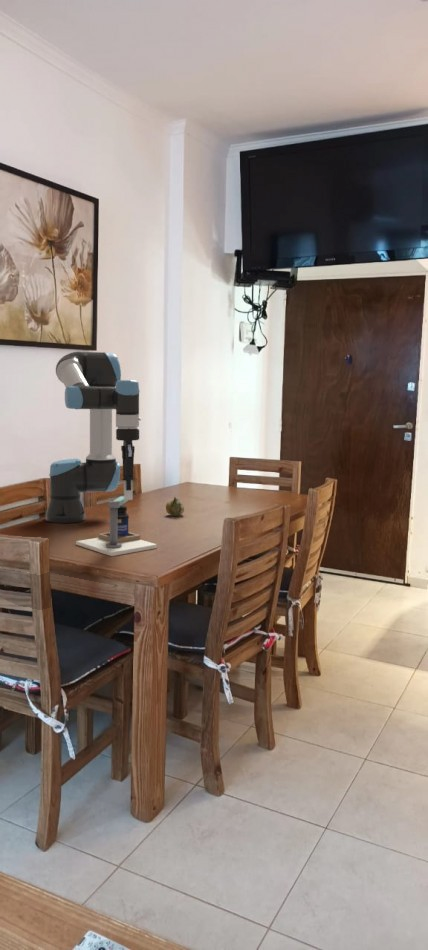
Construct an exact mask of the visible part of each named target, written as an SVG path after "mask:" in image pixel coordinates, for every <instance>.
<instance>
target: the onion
mask: <svg viewBox="0 0 428 950" xmlns="http://www.w3.org/2000/svg"><path fill="white" fill-rule="evenodd" d="M165 511H166V513H167V514H168V515H169V516H172V517H179V516H181V515H182V514H183V513H184V512H185V506H184V504H183V502H182V501H181V500H180V498H178V497H176V496H174V498H173V499H171V500H169V501H168V502H166V505H165Z"/></svg>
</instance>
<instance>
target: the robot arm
mask: <svg viewBox="0 0 428 950" xmlns="http://www.w3.org/2000/svg"><path fill="white" fill-rule="evenodd" d="M55 375H56V376H57V379H58V381H59V382H61V383H62V384H63V385H64V386H65V390H64V403H65V404H64V405H65V407H66V408H67V409H72V410H89V453H88V454H87V456H86V457H85V462H82V461H81V459H80V458H68V459H61V460H57V461H54V462H52V463H51V464H50V466H49V475H48V476H49V488H50V489H49V502H48V505H47V510H46V511H45V521H46V522H50V523H55V524H57V523H58V524H67V523H68V524H70V523H80V522H83V521H85V520H86V511H85V509H84V505H83V503H82V501H81V500H82V498H81V493H100V492H101V493H102V492H103V493H108V492H114V491H115V490H116V489H117V488H118V486H119V483H120V479H121V478H120V476H121V465H120V464H121V463H119V462H118V461H117V459H116V457H115V455H114V454H113V410H115V427H116V429H115V440H117V441H122V442H123V444H122V445H121V447H120V450H121V458H122V481H123V496H124V500H128V501H133V498H134V497H133V496H134V495H133V492H134V491H133V486H134V485H133V480H134V479H135V477H134V461H135V448H136V447H135V446H134V445H133V441H139V440H140V429H139V427H140V421H141V420H142V418H141V417H140V387H139V381H138V380H131V379H129V380H128V379H126V380H125V379H122V371H121V364H120V361H119V357H118V356H117V355H116V354H115V353H113V352H106V351H103V352H101V351H100V352H99V351H97V352H95V351H73V352H70V353H68V354H65V355H63V356H62V357H61V358H60V359H59V360H58V362H56V366H55Z"/></svg>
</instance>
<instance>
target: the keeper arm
mask: <svg viewBox="0 0 428 950" xmlns="http://www.w3.org/2000/svg"><path fill="white" fill-rule="evenodd" d="M128 501H129V500H124V495H122V496H121V495H120V496H119V497H117V498H115V499H114V500H109V501H107V505H108V506H107V508H109V509H110V508H119V507H120V506H123V504H125V503H127V502H128Z"/></svg>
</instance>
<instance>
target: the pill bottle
mask: <svg viewBox="0 0 428 950" xmlns="http://www.w3.org/2000/svg"><path fill="white" fill-rule="evenodd" d="M127 510H128V507H127V505H121V506H120V507H119V508H118V533H117V538H121V537H127V536H128V532H129V522H130V521H129V520H130V518H129V516H130V515H129V513H127Z"/></svg>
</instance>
